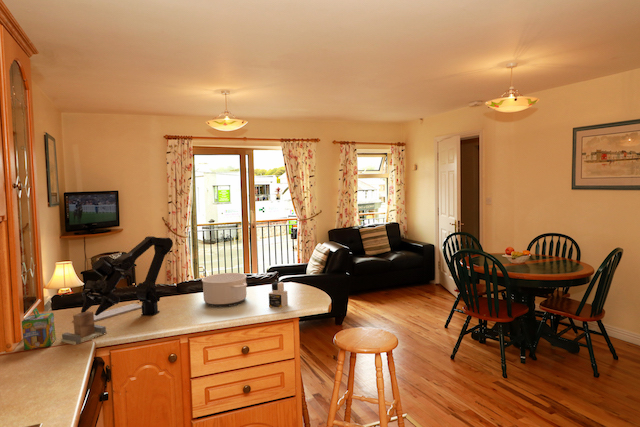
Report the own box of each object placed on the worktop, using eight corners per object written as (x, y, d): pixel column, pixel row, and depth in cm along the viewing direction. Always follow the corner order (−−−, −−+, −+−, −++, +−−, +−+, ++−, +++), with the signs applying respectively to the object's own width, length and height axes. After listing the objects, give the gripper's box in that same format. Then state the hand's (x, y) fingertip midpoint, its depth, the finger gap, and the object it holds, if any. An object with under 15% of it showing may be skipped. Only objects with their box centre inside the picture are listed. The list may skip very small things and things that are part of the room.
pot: (262, 302, 213) (261, 277, 213) (225, 314, 196) (223, 286, 195) (226, 293, 236) (224, 269, 235) (189, 302, 219) (187, 277, 218)
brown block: (88, 331, 175) (87, 311, 174) (94, 333, 173) (93, 312, 172) (74, 336, 169) (73, 315, 169) (81, 337, 167) (79, 316, 167)
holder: (93, 330, 179) (93, 323, 179) (107, 333, 175) (106, 326, 175) (61, 341, 167) (60, 334, 166) (74, 344, 163) (74, 337, 162)
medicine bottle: (269, 307, 205) (267, 283, 204) (275, 303, 211) (274, 280, 211) (281, 308, 202) (280, 284, 201) (288, 304, 209) (287, 281, 208)
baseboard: (70, 322, 194) (82, 326, 187) (69, 316, 194) (82, 320, 187) (131, 305, 219) (144, 308, 213) (131, 300, 219) (144, 303, 212)
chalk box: (50, 346, 162) (47, 310, 161) (23, 350, 159) (20, 313, 158) (56, 338, 170) (54, 304, 169) (30, 342, 167) (27, 307, 166)
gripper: (83, 271, 180) (60, 302, 171) (111, 273, 172) (88, 307, 163) (101, 284, 188) (80, 315, 179) (129, 287, 179) (108, 320, 170)
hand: (88, 314), depth 172 cm, fingers open, 9 cm apart
